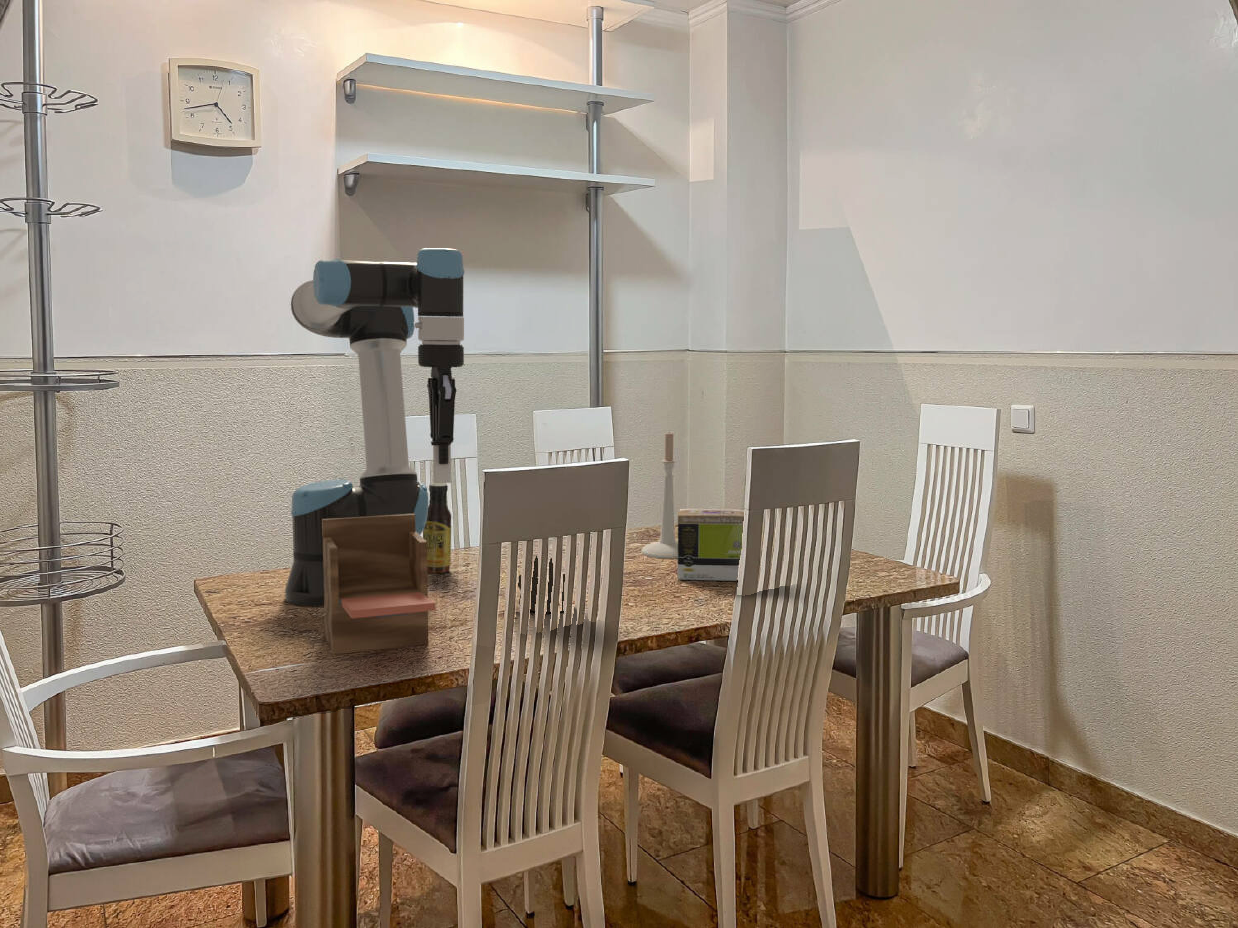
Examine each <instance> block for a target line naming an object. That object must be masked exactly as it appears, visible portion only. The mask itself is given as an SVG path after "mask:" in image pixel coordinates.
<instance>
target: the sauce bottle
mask: <svg viewBox="0 0 1238 928" xmlns="http://www.w3.org/2000/svg"><path fill="white" fill-rule="evenodd" d="M428 485H429V486H428V490H429V500H428V515H427V520H426V524H425V527H424V530H423V531H422V538H423V539H424V540H426V541H427V574H436V575H441V574H445V573H448V572H450V569H451V568H450V567H451V563H452V562H451V559H452V557H451V556H452V514H451V511H450V509H449V508H448V505H447V502H448V501H447V497H448V496H447V495H448V494H447V492H448V488H449V487H448V483H434V482H433V483H429V484H428Z"/></svg>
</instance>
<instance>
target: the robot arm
mask: <svg viewBox="0 0 1238 928" xmlns="http://www.w3.org/2000/svg"><path fill="white" fill-rule="evenodd" d="M312 275H313V277H312V280H308V281H305V282H304V283H302V284H301V285H299V286H298V287H297V288H296V289H295V290H294V292H293V294H292V295H291V299H290V300H291V301H290V309H291V314H292V315H293V317H294V319H295V321H296V322H297V324H299V325H300V326H301V327H302V328H304V329H305V330H307V331H309V332H311V333H313V334H316V335H318V336H323V337H325V338H326V337H327V338H332V339H333V338H336V339H337V338H340V339H349V349H351V350H352V351H353V352H354V353H355V354H357V357H358V358H357V359H358V370H359V383H360V384H359V385H360V395H361V396H360V397H361V409H362V423H363V424H362V425H363V438H364V452H365V454H364V455H365V465H366V469H365V471H364V472H363V473H362V474H361V475H360V476H359V486H356V485H355V486H354V485H353V483H352V481H351V480H350V479H345V478H342V479H327V480H321V481H317V482H316V481H315V482H311V483H308V484H304V485H302V486H300V487H298V488H296V489H295V490H294V491H293V494H292V496H291V509H290V510H291V511H290V514H291V516H292V517H291V521H292V525H291V526H292V553H293V554H292V555H293V561H292V565H291V568H290V571H289V575H288V578H287V581H286V585H285V590H284V591H285V592H284V593H285V594H284V595H285V597H284V598H285V601H286V602H287V603H289V604H290V605H296V606H303V607H324V577H323V542H322V519H331V518H348V517H365V516H382V515H399V514H415V528H416V532H417V533H418V534H419V535H420V536H421V534H423V530H424V527H425V524H426V520H427V515H428V507H429V493H428V487H427V485H426V484H425V483H424V482H422V481H418V474H417V472H416V471H415V470H414V469H412V468H411V466H410V463H409V450H408V438H407V436H408V435H407V426H406V425H407V423H406V410H405V409H406V408H405V400H404V399H405V398H404V385H403V372H402V360H401V359H402V358H401V357H402V356H401V353H402V351H403V350H404V349H405V348H406V347H407V345H408V342H407V341H408V339H410V338H412V337H413V335H414V333H415V329H418V330H417V331H418V333H417V335H418V337H417V339H418V340H419V342H420V341H421V343H420V344H419V345H418V346H417V354H418V355H417V358H418V361H417V362H418V365H419V366H420V367H422V368H423V367H424V368H431V369H430V370H431V371H430V377H427V383H426V386H427V391H428V392H427V393H428V406H429V407H428V408H429V425H430V426H429V427H430V434H429V436H430V438H431V439H432V440H431V441H430V444H431V446H432V453H433V454H432V455H433V456H432V459H433V460H432V462H433V463H432V464H433V465H432V467H433V468H432V469H433V476H432V477H433V479H432V480H433V483H443V484H451V483H452V471H451V470H452V461H451V460H452V456H451V455H452V454H451V453H452V451H451V448H452V447H451V446H452V443H453V442H454V439H455V438H454V428H455V408H456V407H455V405H456V404H455V403H456V401H455V400H456V394H457V387H456V379H455V378H454V377H453V374H452V368H461V367H463V366H464V364H465V363H464V362H465V356H464V355H465V354H464V353H465V352H464V351H465V349H464V348H465V347H464V346H463V344H461V342H464V340H465V317H464V275H465V269H464V259H463V253H462V252H461V251H460V250H458V249H455V248H443V247H442V248H441V247H439V248H438V247H437V248H430V247H429V248H427V247H425V248H421V249H419V250H418V252H417V257H416V262H395V261H394V262H393V261H392V262H391V261H390V262H389V261H376V262H375V261H364V260H363V261H362V260H345V259H344V260H343V259H338V258H334V259H321V260H318V261H317V262H316V263H315V265H314V269H313V274H312ZM414 308H416V309H417V317H418V318H417V321H418V322H415V313H414Z"/></svg>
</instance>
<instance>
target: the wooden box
mask: <svg viewBox="0 0 1238 928" xmlns="http://www.w3.org/2000/svg"><path fill="white" fill-rule="evenodd" d="M322 542H323V577H324V606H323V608H324V609H323V610H324V636H325V639H326V641H327V644H328V647H329V648H330V651H331V654H332V655H340V654H341V655H342V654H343V655H344V654H349V653H350V654H353V653H358V652H359V653H360V652H367V651H368V652H369V651H377V650H378V651H379V650H387V649H397V648H404V647H405V648H406V647H415V646H416V647H417V646H422V645H429V643H430V642H429V611H423V612H413V613H409V615H400V616H390V617H379V618H377V617H376V616H371V617H361V618H351V617H350V616H349V614H348V613H347V612H346V611H345V610H344V608H343V607H342V605H341V606H340V605H339V599H347V598H359V597H370V596H381V595H392V594H404V593H415V592H422V594H424V595H425V596H426V597H428V598H429V595H428V592H429V590H428V588H429V587H428V583H429V582H428V579H429V578H428V573H427V541H426V540H424V539H423V536H421V534H420V535H419V534H418V533H417V532H416V528H415V514H399V515H382V516H365V517H348V518H331V519H322Z"/></svg>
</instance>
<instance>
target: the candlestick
mask: <svg viewBox="0 0 1238 928" xmlns="http://www.w3.org/2000/svg"><path fill="white" fill-rule="evenodd" d="M664 435H665V436H664V459H662V460H661V462H662V464H663V466H662V467H663V469H664V471H665V472H664V473H665V474H664V475H663V477H664V481H663V495H662V507H661V508H662V510H661V521H660V522H661V524H660V534H659V535H660V537H659V541H655V542H651V543H649V544H646V545H645V546H643V547H642V548H641V551H640V552H641V554H642V555H643V556H645V557H649V558H655V559H662V560H663V559H669V560H670V559H672V560H673V559H676V560H677V559H678V541H677V540H676V533H675V506H674V476H673V475H674V474H673V470H674V468H675V463H676V462H677V460H674V433H673V432H666V433H664Z"/></svg>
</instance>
